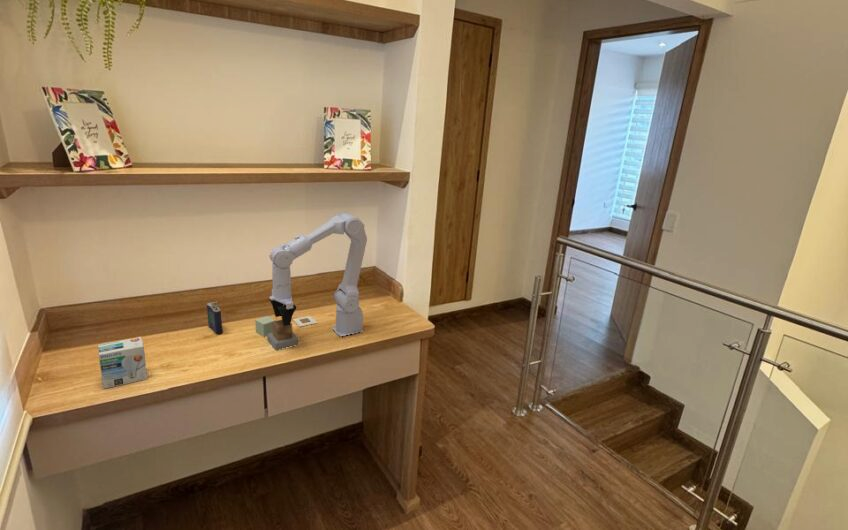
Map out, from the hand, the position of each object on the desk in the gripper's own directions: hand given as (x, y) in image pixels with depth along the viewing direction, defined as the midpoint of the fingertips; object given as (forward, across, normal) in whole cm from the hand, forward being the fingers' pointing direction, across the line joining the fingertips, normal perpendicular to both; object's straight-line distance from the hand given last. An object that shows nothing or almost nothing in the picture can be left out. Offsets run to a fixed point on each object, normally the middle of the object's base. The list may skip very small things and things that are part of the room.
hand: (282, 320), depth 153 cm
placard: (+8, -12, +13) cm, 20 cm away
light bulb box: (+8, 0, -46) cm, 47 cm away
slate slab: (+9, 0, 0) cm, 9 cm away
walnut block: (+6, 0, 0) cm, 6 cm away
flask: (+9, -20, -17) cm, 28 cm away
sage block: (+9, -10, -3) cm, 13 cm away
